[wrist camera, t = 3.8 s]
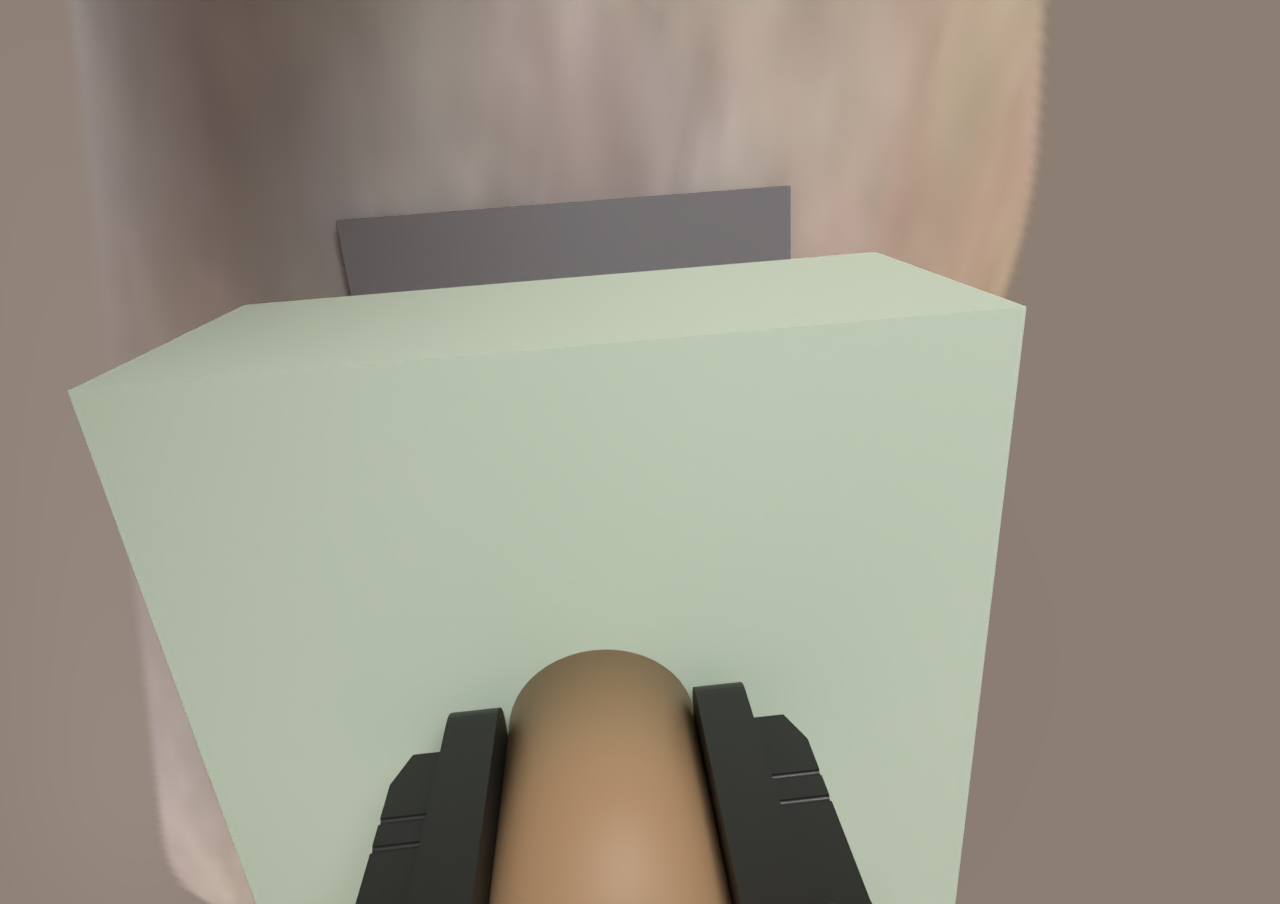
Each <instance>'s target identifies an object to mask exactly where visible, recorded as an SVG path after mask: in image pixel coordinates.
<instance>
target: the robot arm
mask: <svg viewBox="0 0 1280 904" xmlns="http://www.w3.org/2000/svg"><path fill="white" fill-rule="evenodd" d="M693 714H694V720H695V725H696V730H697V735H698V739H699V744H700V749H701V754H702V759H703V764H704V769H705V774H706V778H707V783H708V788H709V793H710V798H711V803H712V808H713V813H714V818H715V822H716V827H717V832H718V837H719V842H720V847H721V852H722V857H723V861H724V866H725V871H726V876H727V881H728V886H729V891H730V896H731V901H732V904H872V902H871V900H870V898H869V895H868V893H867V890H866V888H865V885H864V883H863V880H862V877H861V875H860V872H859V870H858V867H857V864H856V862H855V859H854V857H853V854H852V852H851V849H850V846H849V844H848V841H847V839H846V836H845V834H844V831H843V828H842V826H841V823H840V821H839V818H838V816H837V813H836V810H835V808H834V805H833V803H832V801H830V797H829V792H828V790H827V787H826V785H825V782H824V780H823V777H822V775H820V771H819V767H818V764H817V761H816V759H815V756H814V754H813V751H812V749H811V746H810V743H809V741H808V738H807V737H806V736H805V735H804V734H803V733H802V732H801V731H800V730H799V729H798V728H797V727H796V726H795V725H794V724H793V723H792V722H791V721H790V720H789V719H788V718H787V717H786V716H785V715H784V714H781V715H772V716H763V717H754V716H753V713H752V710H751V706H750V703H749V700H748V697H747V693H746V690H745V687H744V685H743V683H742V682H734V683H725V684H715V685H706V686H697V687H693ZM507 741H508V733H507V727H506V721H505V716H504V712H503V710H502V708H501V707H499V708H490V709H481V710H472V711H463V712H453V713H450V714H449V716H448V718H447V722H446V727H445V731H444V736H443V740H442V745H441V749H440V752H433V753H424V754H415V755H412V757H411V758H410V759H409V761H408V762H407V763H406V765H405V766H404V767H403V768H402V770H401V771H400V772H399V774H398V775H397V776H396V778H395V779H394V780H393V782H392V783H391V784H390V786H389V790H388V793H387V797H386V800H385V803H384V807H383V810H382V814H381V817H380V825H378V828H377V831H376V834H375V838H374V841H373V845H372V854H370V855H369V859H368V862H367V866H366V869H365V872H364V876H363V879H362V883H361V886H360V890H359V893H358V897H357V900H356V904H489V897H490V888H491V879H492V871H493V862H494V853H495V845H496V836H497V827H498V819H499V810H500V801H501V793H502V784H503V775H504V767H505V758H506V749H507Z"/></svg>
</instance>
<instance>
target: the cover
mask: <svg viewBox="0 0 1280 904" xmlns="http://www.w3.org/2000/svg"><path fill="white" fill-rule="evenodd" d="M1025 314H1026V306H1023V305H1020V304H1017V303H1015V302H1012V301H1009V300H1007V299H1004V298H1001V297H998V296H996V295H993V294H990V293H987V292H985V291H982V290H979V289H976V288H974V287H971V286H968V285H965V284H962V283H960V282H957V281H954V280H951V279H949V278H946V277H943V276H940V275H938V274H935V273H932V272H929V271H927V270H924V269H921V268H918V267H916V266H913V265H910V264H907V263H905V262H902V261H899V260H896V259H894V258H891V257H888V256H885V255H883V254H880V253H877V252H869V253H857V254H845V255H833V256H821V257H810V258H798V259H786V260H774V261H762V262H750V263H738V264H726V265H714V266H702V267H690V268H678V269H666V270H654V271H642V272H630V273H618V274H606V275H595V276H583V277H571V278H559V279H547V280H535V281H523V282H511V283H499V284H487V285H475V286H463V287H451V288H439V289H427V290H415V291H403V292H391V293H380V294H368V295H356V296H344V297H332V298H320V299H308V300H296V301H284V302H272V303H260V304H248V305H243V306H241V307H239V308H237V309H235V310H233V311H231V312H228V313H226V314H224V315H222V316H220V317H218V318H216V319H214V320H212V321H210V322H208V323H206V324H204V325H202V326H200V327H198V328H196V329H194V330H191V331H189V332H187V333H185V334H183V335H181V336H179V337H177V338H175V339H173V340H171V341H169V342H167V343H165V344H163V345H161V346H159V347H156V348H154V349H152V350H150V351H148V352H146V353H144V354H142V355H140V356H138V357H136V358H134V359H132V360H130V361H128V362H126V363H124V364H122V365H119V366H117V367H115V368H113V369H111V370H109V371H107V372H105V373H103V374H101V375H99V376H97V377H95V378H93V379H91V380H89V381H87V382H84V383H83V384H80V385H78V386H76V387H74V388H72V389H71V390H68V394H69V397H70V399H71V402H72V405H73V407H74V410H75V413H76V416H77V419H78V421H79V424H80V427H81V429H82V432H83V435H84V438H85V440H86V443H87V446H88V449H89V451H90V454H91V456H92V459H93V462H94V465H95V467H96V470H97V473H98V476H99V478H100V481H101V484H102V487H103V489H104V492H105V495H106V498H107V500H108V503H109V506H110V508H111V511H112V514H113V517H114V519H115V522H116V525H117V527H118V530H119V533H120V536H121V538H122V541H123V544H124V547H125V549H126V552H127V555H128V557H129V560H130V563H131V566H132V568H133V571H134V574H135V577H136V579H137V582H138V585H139V587H140V590H141V593H142V596H143V598H144V601H145V604H146V606H147V609H148V612H149V615H150V617H151V620H152V623H153V626H154V628H155V631H156V634H157V636H158V639H159V642H160V645H161V647H162V650H163V653H164V656H165V658H166V661H167V664H168V666H169V669H170V672H171V675H172V677H173V680H174V683H175V685H176V688H177V691H178V694H179V696H180V699H181V702H182V705H183V707H184V710H185V713H186V715H187V718H188V721H189V724H190V726H191V729H192V732H193V734H194V737H195V740H196V743H197V745H198V748H199V751H200V754H201V756H202V759H203V762H204V764H205V767H206V770H207V773H208V775H209V778H210V781H211V784H212V786H213V789H214V792H215V794H216V797H217V800H218V803H219V805H220V808H221V811H222V813H223V816H224V819H225V822H226V824H227V827H228V830H229V833H230V835H231V838H232V841H233V843H234V846H235V849H236V852H237V854H238V857H239V860H240V862H241V865H242V868H243V871H244V873H245V876H246V879H247V882H248V884H249V887H250V890H251V892H252V895H253V898H254V901H255V903H256V904H356V900H357V897H358V893H359V890H360V886H361V883H362V879H363V876H364V872H365V869H366V866H367V862H368V859H369V855H370V854H372V845H373V841H374V838H375V834H376V831H377V828H378V825H380V817H381V814H382V810H383V807H384V803H385V800H386V797H387V793H388V790H389V786H390V784H391V783H392V782H393V780H394V779H395V778H396V776H397V775H398V774H399V772H400V771H401V770H402V768H403V767H404V766H405V765H406V763H407V762H408V761H409V759H410V758H411V757H412V755H415V754H424V753H433V752H440V749H441V745H442V740H443V736H444V731H445V727H446V722H447V718H448V716H449V714H450V713H453V712H463V711H472V710H481V709H490V708H499V707H501V708H502V710H503V712H504V716H505V721H506V727H507V733H508V741H507V749H506V758H505V767H504V775H503V784H502V793H501V801H500V810H499V819H498V827H497V836H496V845H495V853H494V862H493V871H492V879H491V888H490V897H489V904H732V901H731V896H730V891H729V886H728V881H727V876H726V871H725V866H724V861H723V857H722V852H721V847H720V842H719V837H718V832H717V827H716V822H715V818H714V813H713V808H712V803H711V798H710V793H709V788H708V783H707V778H706V774H705V769H704V764H703V759H702V754H701V749H700V744H699V739H698V735H697V730H696V725H695V720H694V714H693V687H697V686H706V685H715V684H725V683H734V682H742V683H743V685H744V687H745V690H746V693H747V697H748V700H749V703H750V706H751V710H752V713H753V716H754V717H763V716H772V715H781V714H784V715H785V716H786V717H787V718H788V719H789V720H790V721H791V722H792V723H793V724H794V725H795V726H796V727H797V728H798V729H799V730H800V731H801V732H802V733H803V734H804V735H805V736H806V737H807V738H808V741H809V743H810V746H811V749H812V751H813V754H814V756H815V759H816V761H817V764H818V767H819V771H820V775H822V777H823V780H824V782H825V785H826V787H827V790H828V792H829V797H830V801H832V803H833V805H834V808H835V810H836V813H837V816H838V818H839V821H840V823H841V826H842V828H843V831H844V834H845V836H846V839H847V841H848V844H849V846H850V849H851V852H852V854H853V857H854V859H855V862H856V864H857V867H858V870H859V872H860V875H861V877H862V880H863V883H864V885H865V888H866V890H867V893H868V895H869V898H870V900H871V902H872V904H955V900H956V892H957V884H958V875H959V867H960V859H961V850H962V841H963V834H964V825H965V816H966V808H967V800H968V792H969V783H970V775H971V766H972V758H973V750H974V741H975V733H976V725H977V716H978V708H979V700H980V691H981V683H982V674H983V666H984V657H985V648H986V641H987V633H988V623H989V616H990V607H991V599H992V591H993V582H994V574H995V566H996V557H997V549H998V540H999V532H1000V524H1001V515H1002V506H1003V498H1004V490H1005V481H1006V473H1007V465H1008V457H1009V448H1010V440H1011V432H1012V423H1013V414H1014V406H1015V398H1016V390H1017V381H1018V373H1019V364H1020V356H1021V347H1022V339H1023V331H1024V323H1025Z"/></svg>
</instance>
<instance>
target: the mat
mask: <svg viewBox="0 0 1280 904" xmlns="http://www.w3.org/2000/svg"><path fill="white" fill-rule="evenodd" d="M336 226H337V230H338V235H339V240H340V245H341V250H342V255H343V260H344V265H345V270H346V275H347V280H348V285H349V290H350V295H351V296H356V295H368V294H380V293H391V292H403V291H415V290H427V289H439V288H451V287H463V286H475V285H487V284H499V283H511V282H523V281H535V280H547V279H559V278H571V277H583V276H595V275H606V274H618V273H630V272H642V271H654V270H666V269H678V268H690V267H702V266H714V265H726V264H738V263H750V262H762V261H774V260H786V259H790V186H779V187H766V188H753V189H740V190H727V191H714V192H701V193H688V194H675V195H662V196H649V197H636V198H623V199H610V200H597V201H584V202H571V203H558V204H545V205H532V206H519V207H506V208H493V209H480V210H467V211H454V212H441V213H428V214H415V215H402V216H389V217H375V218H362V219H349V220H339V221H336Z"/></svg>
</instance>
